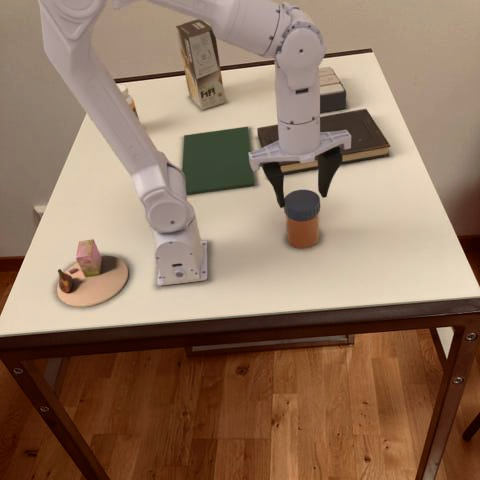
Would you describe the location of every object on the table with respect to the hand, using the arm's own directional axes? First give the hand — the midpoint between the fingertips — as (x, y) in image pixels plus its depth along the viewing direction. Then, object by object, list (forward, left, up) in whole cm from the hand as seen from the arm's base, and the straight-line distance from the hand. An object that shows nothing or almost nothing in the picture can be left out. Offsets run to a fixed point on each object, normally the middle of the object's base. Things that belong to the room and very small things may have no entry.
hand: (301, 199), depth 78 cm
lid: (0, 0, 0) cm, 0 cm away
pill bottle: (+45, +34, -8) cm, 57 cm away
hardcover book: (+28, -7, -8) cm, 30 cm away
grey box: (+49, -9, -8) cm, 50 cm away
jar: (0, 0, -8) cm, 8 cm away
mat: (+28, +14, -8) cm, 32 cm away
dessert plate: (-4, +35, -8) cm, 36 cm away
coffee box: (+56, +16, -8) cm, 59 cm away
